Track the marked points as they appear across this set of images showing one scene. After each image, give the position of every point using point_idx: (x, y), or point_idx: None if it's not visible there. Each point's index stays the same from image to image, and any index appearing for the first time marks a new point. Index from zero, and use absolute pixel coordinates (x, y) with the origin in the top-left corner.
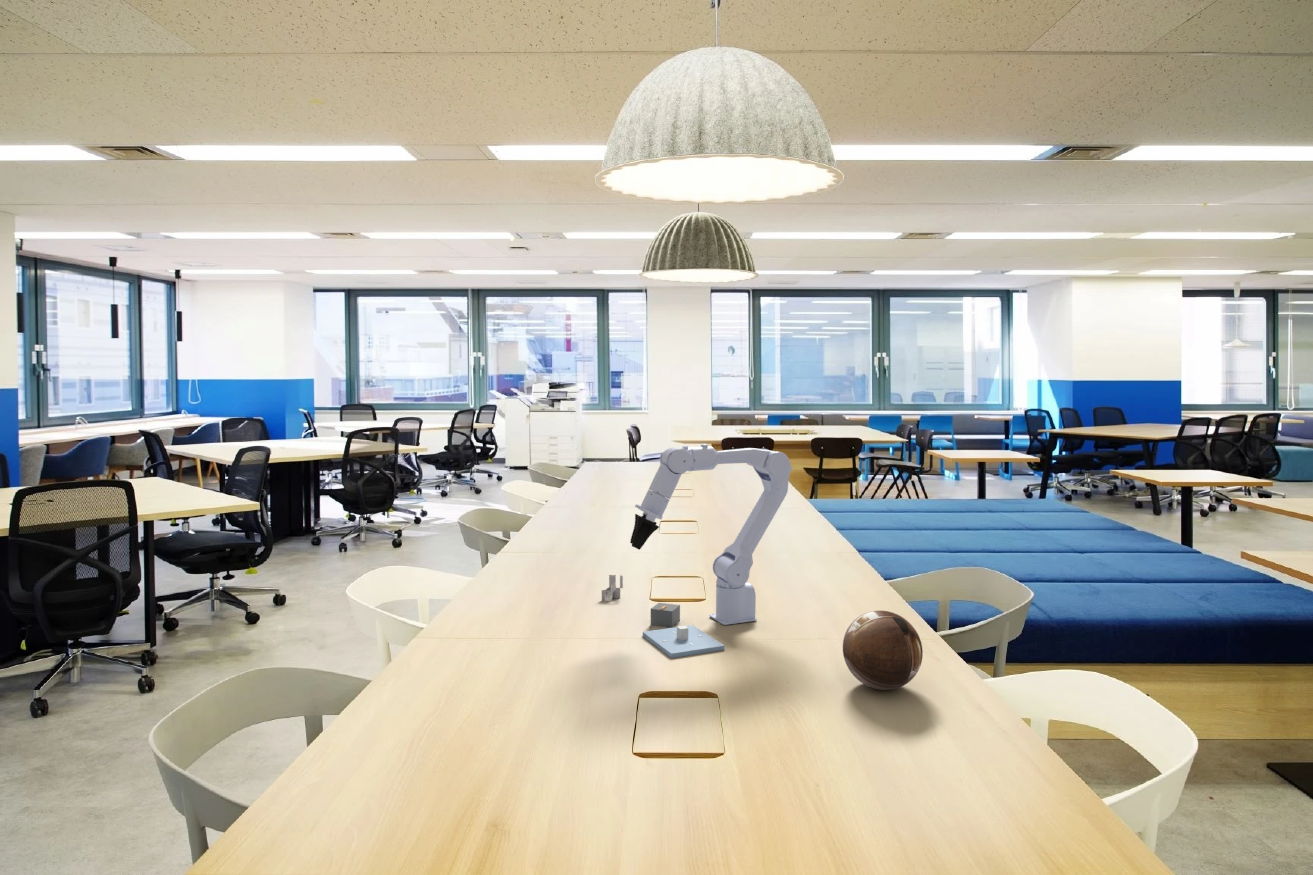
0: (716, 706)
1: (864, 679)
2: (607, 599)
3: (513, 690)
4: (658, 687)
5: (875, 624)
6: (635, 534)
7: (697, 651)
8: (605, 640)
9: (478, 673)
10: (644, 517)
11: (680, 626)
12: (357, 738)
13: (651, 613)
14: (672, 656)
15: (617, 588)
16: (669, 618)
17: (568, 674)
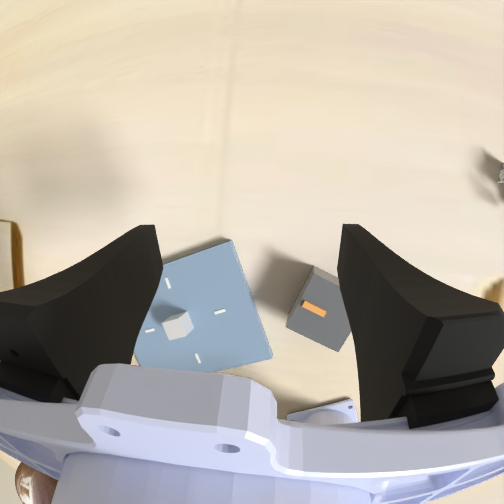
0: None
1: None
2: (501, 175)
3: (43, 67)
4: (28, 248)
5: (17, 490)
6: (93, 256)
7: None
8: (209, 156)
9: (97, 6)
10: (404, 402)
11: (179, 326)
12: (11, 2)
13: (312, 273)
14: None
15: None
16: (290, 314)
17: (67, 117)
